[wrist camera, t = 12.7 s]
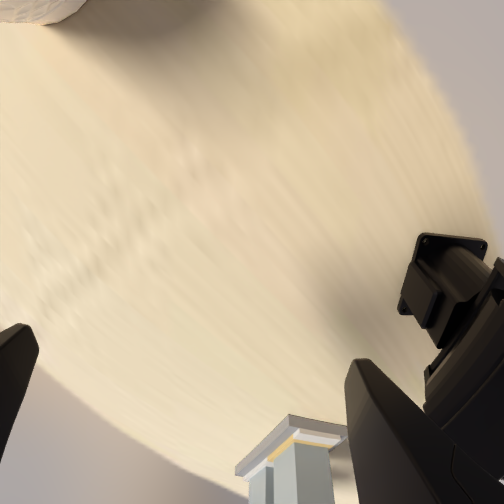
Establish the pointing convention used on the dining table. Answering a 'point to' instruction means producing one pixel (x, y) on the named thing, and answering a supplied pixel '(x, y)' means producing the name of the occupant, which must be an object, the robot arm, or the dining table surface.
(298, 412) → the dining table surface
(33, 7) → the white cup
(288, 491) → the block
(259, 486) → the block
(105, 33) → the dining table surface
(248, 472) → the rail board
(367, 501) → the robot arm
